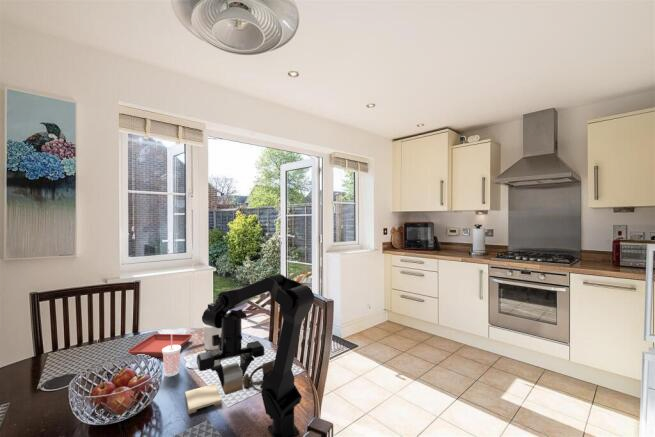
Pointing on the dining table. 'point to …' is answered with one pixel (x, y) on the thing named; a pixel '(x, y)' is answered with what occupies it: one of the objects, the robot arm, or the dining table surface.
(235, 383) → the housing
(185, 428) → the dining table surface
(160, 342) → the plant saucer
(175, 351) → the beverage cup
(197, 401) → the cream slab
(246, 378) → the brown looped cylinder
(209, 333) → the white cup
